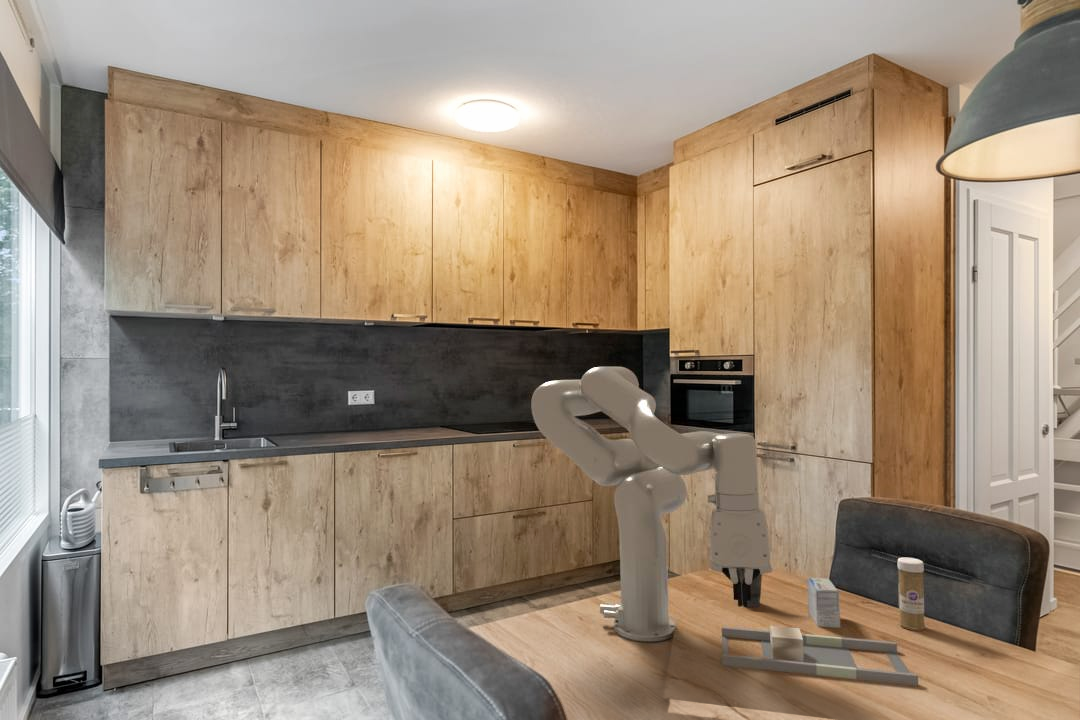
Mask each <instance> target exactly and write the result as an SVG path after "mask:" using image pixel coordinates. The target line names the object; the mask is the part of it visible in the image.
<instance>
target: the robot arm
mask: <svg viewBox="0 0 1080 720" xmlns="http://www.w3.org/2000/svg"><path fill="white" fill-rule="evenodd" d="M639 386H640V384H639V381H638V378H637V376H636V375H635V373H634V372H633V371H632V370H630V369H629V368H626V367H624V366H597V367H592V368H590V369H589V370H587V371H586V372H585V373H584V374H583V375H582V377H581V379H560V380H559V379H558V380H550V381H546V382H545V383H542V384H541V385H539V386H538V387H537V388H536V389H535V390H534V392H533V394H532V397H531V402H530V403H531V406H530V407H531V408H530V409H531V414H532V417H533V421H534V423H535V425H536V427H537V429H538V430H539V432H540V433H541V434H542V435H543V436H544V437H545V438H546V440H548V442H550V443H551V444H552V445H554V446H555V447H556V448H557V449H558V450H559V451H561V452H562V453H563V454H564V455H566V456H567V457H568V458H569V459H570V460H571V461H572V463H574V465H576V466H577V467H578V468H579V469H580V470H581V471H583V473H585V474H586V475H587V476H588V477H589V478H590V479H591V480H592V481H594V482H595V483H596V484H597V485H599V486H603V487H611V486H616V487H615V491H614V498H613V499H614V507H615V508H614V509H615V513H616V518H617V525H618V534H619V535H618V536H619V537H618V538H619V560H620V561H619V564H620V567H619V568H620V569H619V570H620V571H619V572H620V603H615V605H612V604H611V605H610V604H604V603H600V605H599V606H600V607H599V613H600V615H603V618H604V619H605V618H607V619H614V620H613V629H614V631H615V633H617V634H618V635H619V636H621V637H622V638H625V639H628V640H632V641H635V642H636V641H638V642H648V643H649V642H651V643H652V642H661V641H666V640H668V639H671V638H672V637H674V633H675V627H676V622H675V620H673V619H672V618H670V616H669V581H668V580H669V576H668V572H669V570H668V569H669V568H668V565H669V564H668V544H667V543H668V541H667V534H666V531H665V528H664V526H663V523H662V518H661V517H662V516H665V515H668V514H670V513H673V512H675V511H677V510H679V509H680V508H681V507H682V506H683V505H684V504H685V502H686V500H687V496H688V489H687V485H686V482H685V479H683V477H682V476H689V475H692V474H696V473H701V472H705V471H709V470H713V471H714V490H715V492H714V493H713V494H711V495H709V494H708V495H707V503H709V504H714V505H715V507H714V508H712V511H711V517H710V529H709V532H710V534H709V535H710V537H709V540H710V543H709V545H710V559H711V561H710V564H709V565H710V566H709V569H710V570H711V571H714V572H718V573H721V574H724V576H725V577H727V578H728V579H729V581H731V583H732V589H733V591H732V592H733V594H732V595H733V601H737V607H740V608H742V607H745V608H748V607H747V601H751V589H750V584H751V583H752V581H753V580H754V579H755V578H756V577H757V576H758V575H759V574H762V575H764V574H765V575H766V574H770V573H772V572H773V567H772V564H771V550H770V549H771V548H770V537H769V530H768V522H767V518H766V513H765V511H764V509H762V508H760V501H759V500H760V497H759V477H758V459H757V445H756V443H757V442H756V439H755V438H754V436H753V435H751V434H748V433H736V432H735V433H732V432H731V433H717V432H715V431H714V432H713V431H707V430H706V431H705V430H700V431H699V430H698V431H692V432H685V433H679V432H678V431H677V430H675V429H673V428H671V427H670V426H668V425H667V424H665V423H664V422H662V421H661V420H660V419H659V418H657V416H656V415H655V412H656V407H657V403H656V399H655V398H654V397H653V396H652V395H651V394H650V393H648V392H646V391H645V390H642V389H641V387H639ZM598 412H602V413H604V414H605V415H607V416H608V417H609V418H610V419H612V420H613V421H615V422H616V423H618V424H619V425H620V426H622V427H623V428H625V429H626V430H627V431H628V432H629V435H630V438H631V439H630V438H622V439H621V438H620V439H609V438H607V437H605V436H604V435H602V434H601V433H599V432H598V431H597V429H595V428H594V427H593V426H591V425H590V424H589V423H587V422H585V421H583V420H582V419H580V418H578V417H579V416H587V415H592V414H595V413H598ZM736 568H745V574H744V577H743V581H742V590H741V581H740V578H739V577H738V575H737V571H736ZM742 598H743V606H742Z"/></svg>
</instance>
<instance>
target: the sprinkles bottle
mask: <svg viewBox="0 0 1080 720" xmlns="http://www.w3.org/2000/svg"><path fill="white" fill-rule="evenodd" d="M924 564H925V563H924V561H923V560H921V559H919V558H914V557H904V556H903V557H899V558H898V559H897V564H896V565H897V566H896V567H897V571H898V586H897V587H898V608H899V621H898V623H899V626H900V627H902V628H904V629H906V630H911V631H923V630H925V628H926V626H925V594H924V572H925V571H924V570H925V567H924Z"/></svg>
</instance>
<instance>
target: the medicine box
mask: <svg viewBox="0 0 1080 720" xmlns="http://www.w3.org/2000/svg"><path fill="white" fill-rule="evenodd" d="M807 599H808V600H807V602H808V603H807V606H808V607H807V608H808V617H811V618H812V620H813V621H814V623H815V625H816V627H821V628H841V611H840V592H839V590H838V589H837V588H836V587H835V585H834V584H833V582H832V580H830V579H829V578H825V577H824V578H822V577H820V578H819V577H808V578H807Z"/></svg>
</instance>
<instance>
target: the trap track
mask: <svg viewBox="0 0 1080 720" xmlns="http://www.w3.org/2000/svg"><path fill="white" fill-rule="evenodd" d="M801 635H802V638H803V657H804V662H796V661H786V660H777V659H773V658H772V653H771V646H770V630H765V629H764V630H763V629H753V628H752V629H751V628H742V627H731V626H721V651H722V653H721V654H722V655H721V656H722V657H721V658H722V661H721V662H722V666H728V667H739V668H746V669H754V670H755V669H757V670H765V671H766V670H767V671H776V672H786V673H792V674H793V673H795V674H801V675H802V674H803V675H811V676H812V675H814V676H824V677H831V678H839V679H840V678H842V679H849V680H860V681H870V682H879V683H880V682H881V683H889V684H898V685H906V686H914V687H915V686H916V687H918V686H919V675H918V674H917V673H913V672H910V670H909V669H908V668H907V666H906V664H905V663H904V661H903V660H902V658H901V656H900V655H899V653H898V644H897V642H895V641H887V640H886V641H885V640H875V639H866V638H865V639H864V638H863V639H862V638H852V637H841V636H830V635H819V634H808V633H801ZM728 638H734V639H747V640H756V641H757V640H758V641H760V644H761V651H762V657H754V656H745V655H737V654H736V655H735V654H729V647H728V646H729V645H728V644H729V641H728ZM850 649H851V650H852V649H853V650H862V651H873V652H874V651H875V652H882V653H883V652H884V653H885V654H886V657H887V658H888V660H889V662H890V663H891V665H892V667H893V668H894V669H895V671H892V670H884V669H883V670H882V669H873V668H863V667H858V666H857V664H856V663H855V660H854V657H853V656H852V654H851V651H850Z"/></svg>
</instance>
